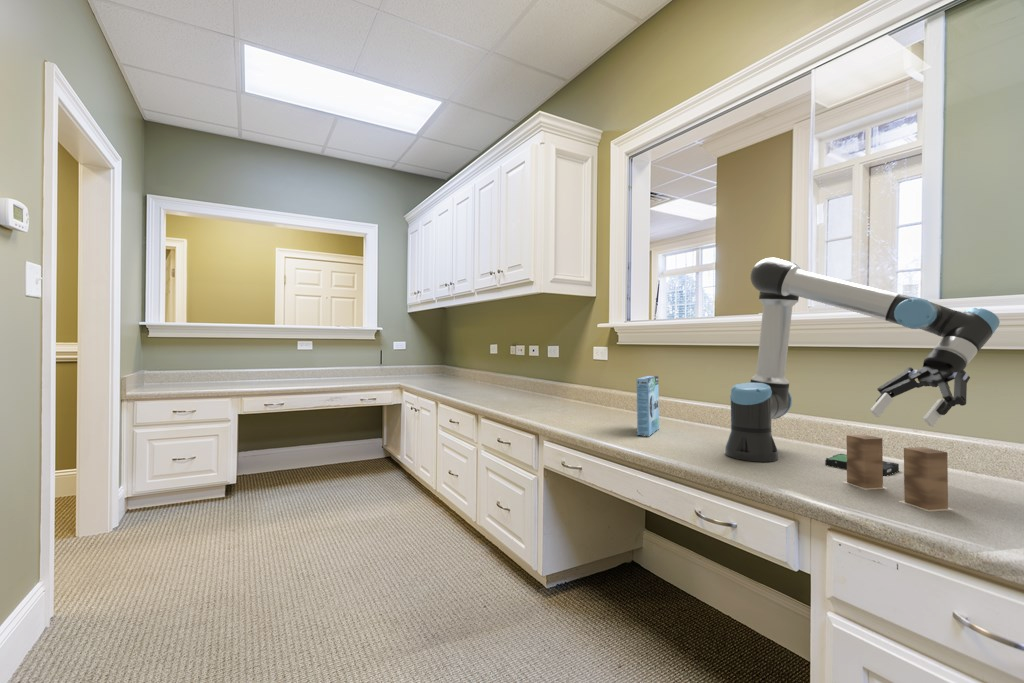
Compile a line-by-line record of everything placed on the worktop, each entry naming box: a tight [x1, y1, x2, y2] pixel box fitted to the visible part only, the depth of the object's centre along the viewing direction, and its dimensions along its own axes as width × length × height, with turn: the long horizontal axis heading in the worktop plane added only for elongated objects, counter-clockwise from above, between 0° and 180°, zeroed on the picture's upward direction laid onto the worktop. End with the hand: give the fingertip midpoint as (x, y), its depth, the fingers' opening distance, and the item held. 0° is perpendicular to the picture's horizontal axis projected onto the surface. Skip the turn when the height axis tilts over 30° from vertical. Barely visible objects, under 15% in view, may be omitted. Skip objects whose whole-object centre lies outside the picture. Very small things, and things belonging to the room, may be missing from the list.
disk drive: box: [824, 453, 900, 477], centre depth 133 cm, size 10×3×15 cm
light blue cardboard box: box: [636, 375, 660, 437], centre depth 188 cm, size 20×5×23 cm, turn 150°
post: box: [846, 433, 884, 489], centre depth 113 cm, size 5×5×12 cm
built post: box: [903, 446, 949, 510], centre depth 99 cm, size 5×5×12 cm
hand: (899, 418), depth 115 cm, fingers open, 13 cm apart
